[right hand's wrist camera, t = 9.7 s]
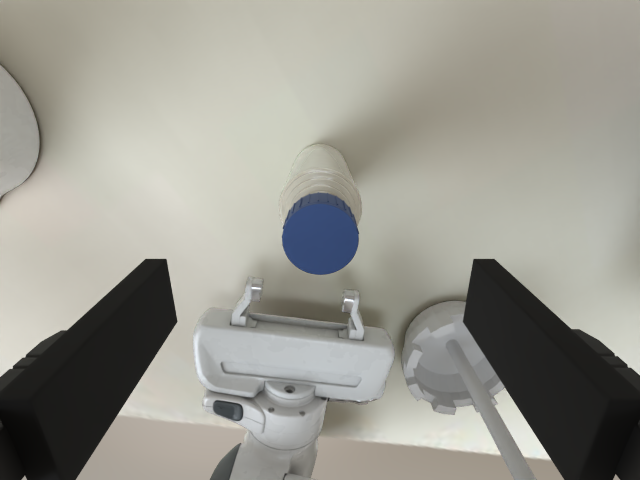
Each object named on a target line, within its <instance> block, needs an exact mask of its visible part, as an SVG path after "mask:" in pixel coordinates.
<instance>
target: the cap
mask: <svg viewBox="0 0 640 480" xmlns="http://www.w3.org/2000/svg"><path fill="white" fill-rule="evenodd" d="M283 229H284V230H283V234H282V243H283V248H284V251H285V253H286V255H287V257H288V259H289V260H290V261H291V262H292V263H293V264H294V265H295V266H296V267H298V268H299V269H301V270H303V271H305V272H307V273H311V274H318V275H323V274H330V273H333V272H336V271H338V270H340V269H342V268H343V267H345V266H346V265H347V264H348V263H349V262H350V261H351V260H352V258H353V257H354V255H355V253H356V251H357V247H358V241H359V237H358V234H359V232H358V228H357V223H356V220H355V216H354V214H352V212H351V208H350V206H349V207H348V205H347V204H346V203H345V201H344V200H341V199H340V198H338V197H337V196H334V195H331V194H328V193H319V192H318V193H313V194H309V195H306V196H304V197H301V198H300V199H299V200H298V201H297V202H296V203H294V204H293V206H292V208H291V209H290V210H289V211H288V215H287V218H286V219H285V222H284V226H283Z"/></svg>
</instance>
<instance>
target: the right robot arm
mask: <svg viewBox="0 0 640 480" xmlns="http://www.w3.org/2000/svg"><path fill="white" fill-rule="evenodd" d="M176 323H177V317H176V311H175V305H174V300H173V294H172V288H171V283H170V277H169V271H168V265H167V260H166V259H145V260H144V261H143V262H142V263H141V264H140V265H139V266H138V267H136V268H135V269H134V270H133V271H132V272H131V273H130V274H129V275H128V276H127V277H125V278H124V279H123V280H122V281H121V282H120V283H119V284H118V285H117V286H116V287H114V288H113V289H112V290H111V291H110V292H109V293H108V294H107V295H106V296H105V297H103V298H102V299H101V300H100V301H99V302H98V303H97V304H96V305H95V306H94V307H92V308H91V309H90V310H89V311H88V312H87V313H86V314H85V315H84V316H83V317H82V318H80V319H79V320H78V321H77V322H76V323H75V324H74V325H73V326H72V327H71V328H69V329H68V330H67V331H60V332H58V333H56V334H54V335H52V336H51V337H49V338H47V339H45V340H44V341H42V342H40V343H39V344H38V345H37V346H36V347H35V348H33V349H32V350H31V351H30V352H29V353H28V354H27V355H26V357H25V358H22V359H21V360H20V361H18V362H17V363H16V364H15V365H14V366H13V369H9V370H8V371H7V372H6V373H5V374H3V375H2V376H1V377H0V480H21V479H22V478H23V477H24V476H26V478H27V480H76V478H77V477H78V475H79V474H80V472H81V470H82V469H83V467H84V466H85V464H86V463H87V461H88V460H89V458H90V457H91V455H92V453H93V452H94V450H95V449H96V447H97V446H98V444H99V443H100V441H101V439H102V438H103V436H104V435H105V433H106V432H107V430H108V429H109V427H110V425H111V424H112V422H113V421H114V419H115V418H116V416H117V415H118V413H119V411H120V410H121V408H122V407H123V405H124V404H125V402H126V401H127V399H128V398H129V396H130V394H131V393H132V391H133V390H134V388H135V387H136V385H137V384H138V382H139V380H140V379H141V377H142V376H143V374H144V373H145V371H146V370H147V368H148V366H149V365H150V363H151V362H152V360H153V359H154V357H155V356H156V354H157V353H158V351H159V349H160V348H161V346H162V345H163V343H164V342H165V340H166V339H167V337H168V335H169V334H170V332H171V331H172V329H173V328H174V326H175V325H176ZM463 323H464V325H465V326H466V328H467V329H468V331H469V332H470V334H471V335H472V337H473V339H474V340H475V342H476V343H477V345H478V346H479V348H480V349H481V351H482V353H483V354H484V356H485V357H486V359H487V360H488V362H489V363H490V365H491V366H492V368H493V370H494V371H495V373H496V374H497V376H498V377H499V379H500V380H501V382H502V384H503V385H504V387H505V388H506V390H507V391H508V393H509V394H510V396H511V398H512V399H513V401H514V402H515V404H516V405H517V407H518V408H519V410H520V412H521V413H522V415H523V416H524V418H525V419H526V421H527V422H528V424H529V425H530V427H531V429H532V430H533V432H534V433H535V435H536V436H537V438H538V439H539V441H540V443H541V444H542V446H543V447H544V449H545V450H546V452H547V453H548V455H549V457H550V458H551V460H552V461H553V463H554V464H555V466H556V467H557V469H558V470H559V472H560V474H561V475H562V477H563V478H564V480H613V478H614V476H615V474H616V475H617V476H618V477H619V479H620V480H640V375H639V374H637V373H636V372H635V371H634V370H633V369H632V368H628V366H627V364H626V363H625V362H624V361H622V360H621V359H620V358H619V357H618V356H615V355H614V353H613V352H612V351H611V350H610V349H608V348H607V347H606V346H605V345H604V344H603V343H601V342H600V341H599V340H597V339H596V338H594V337H592V336H590V335H588V334H587V333H585V332H583V331H581V330H579V329H571V328H569V327H568V326H567V325H566V324H565V323H564V322H563V321H562V320H561V319H560V318H558V317H557V316H556V315H555V314H554V313H553V312H552V311H551V310H550V309H549V308H548V307H546V306H545V305H544V304H543V303H542V302H541V301H540V300H539V299H538V298H537V297H535V296H534V295H533V294H532V293H531V292H530V291H529V290H528V289H527V288H526V287H524V286H523V285H522V284H521V283H520V282H519V281H518V280H517V279H516V278H515V277H513V276H512V275H511V274H510V273H509V272H508V271H507V270H506V269H505V268H504V267H502V266H501V265H500V264H499V263H498V262H497V261H496V260H495V259H474V260H473V265H472V271H471V277H470V283H469V288H468V294H467V300H466V305H465V311H464V317H463Z"/></svg>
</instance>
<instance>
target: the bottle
mask: <svg viewBox="0 0 640 480" xmlns="http://www.w3.org/2000/svg"><path fill="white" fill-rule="evenodd" d="M318 192H319V193H328V194H331V195H334V196H337V197H338V198H340V199H341V200H344V201H345V203H346V204H347V205H348V207H349V206H350V208H351V212H352V214H354V216H355V220H356V223H357V226H358V223H359V221H360V218H361V212H362V203H361V198H360V195H359V192H358V190H357V187H356V185H355V183H354V180H353V178H352V175H351V173H350V171H349V168H348V166H347V164H346V161H345V159H344V157H343V156H342V154H341V153H340V152H339V151H338V150H336V149H335V148H333V147H331V146H329V145H325V144H316V145H312V146H309V147H307V148H305V149H304V150H303V151H302V152H300V154H299V155H298V156H297V158H296V160H295V162H294V165H293V167H292V169H291V172H290V174H289V177H288V179H287V182H286V184H285V186H284V189H283V191H282V194H281V197H280V201H279V215H280V219H281V222H282V224H283V226H284V222H285V219H286V218H287V215H288V211H289V210H290V209H291V208H292V206H293V204H294V203H296V202H297V201H298V200H299V199H300V198H301V197H304V196H306V195H309V194H313V193H318Z"/></svg>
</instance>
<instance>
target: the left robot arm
mask: <svg viewBox="0 0 640 480" xmlns="http://www.w3.org/2000/svg"><path fill="white" fill-rule="evenodd" d="M39 144H40V141H39V131H38V125H37V121H36V118H35V115H34V112H33V110H32V107H31V105H30V103H29V101H28V99H27V97H26V96H25V94H24V92H23V91H22V89H21V88H20V86H19V85H18V84H17V82H16V81H15V80H14V78H13V77H12V76H11V75H10V74H9V73H8V72H7V71H6V70H5V69H4V68H3V67H2V66H1V65H0V199H1V197H2V196H3V195H4V194H5V193H7V192H8V191H10V190H12V189H14V188H16V187H17V186H19V185H20V184H22V183H23V182H24V181H25V180H26V179H27V178H28V177H29V175H30V174H31V172H32V171H33V169H34V167H35V165H36V162H37V159H38V154H39ZM263 282H264V279H261V278H255V277H248V280H247V283H246V289H245V294H244V295H243V296H242V297H241V298H240V300H239V301H238V302H237V303H236V306H235V308H234V310H228V309H220V308H210V309H208V310H207V311H206V312H205V313H204V314H203V315H202V316H201V317H200V319H199V321H198V322H197V325H196V327H195V330H194V334H193V351H194V361H195V368H196V373H197V376H198V379H199V381H200V382H201V384H202V385H203V386H204V387H206V389H205V393H204V397H203V408H204V410H206V411H207V412H209V413H211V414H214V415H217V416H220V417H223V418H225V419H228V420H230V421H233V422H235V423H237V424H239V425H241V426H243V427H245V428H247V431H246V434H245V437H244V442H243V443H242V444H241V443H240V444H238V445H236V446H235V447H234V448H233V449H232V450H231V451H230V452H229V453H228V454H227V455H226V456H225V457H224V458H223V459H222V460H221V461H220V462H219V464H218V465H217V467H216V469H215V470H214V472H213V474H212V476H211V478H210V480H316V479H312V478H311V475H312V472H313V468H314V464H315V460H316V456H317V450H318V439H317V438H318V436H319V434H320V432H321V429H322V426H323V421H324V416H325V411H326V406H327V402H328V401H333V402H352V403H356V404H361V405H363V404H368V401H374V400H376V399H380V398H381V397H382V395H383V392H384V389H385V385H386V378H387V376H388V374H389V372H390V369H391V367H392V364H393V361H394V357H395V350H394V346H393V342H392V339H391V337H390V336H389V334H388V333H387V331H386V330H385V329H383V328H377V327H369V326H364V325H363V320H362V317H361V315H360V312H359V310H358V306H359V300H360V296H359V291H357V290H349V289H344V290H343V296H342V300H341V306H342V312H346V313H350V314H351V317H350V318H349V320H348V324H344V323H336V322H327V321H319V320H311V319H303V318H294V317H286V316H278V315H269V314H261V313H253V312H249V311H250V306H249V304H250V302H251V301H257V302H260V299H261V296H262V292H263Z"/></svg>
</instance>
